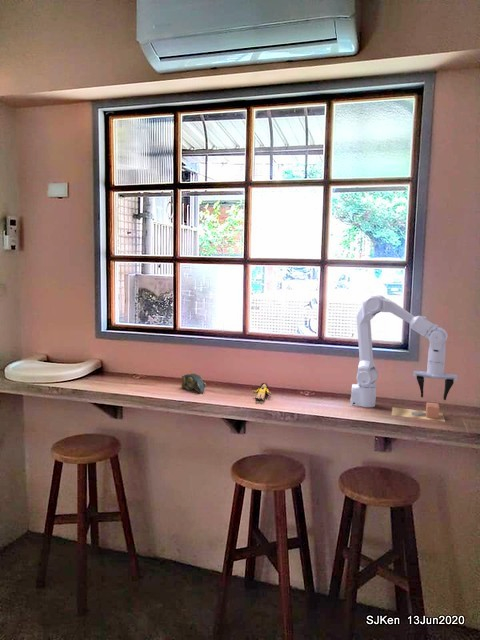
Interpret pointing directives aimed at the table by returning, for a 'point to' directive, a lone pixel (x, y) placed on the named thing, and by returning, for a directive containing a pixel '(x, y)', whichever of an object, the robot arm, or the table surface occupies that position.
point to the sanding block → (432, 410)
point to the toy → (261, 393)
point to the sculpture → (193, 383)
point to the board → (414, 414)
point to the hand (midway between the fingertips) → (433, 398)
